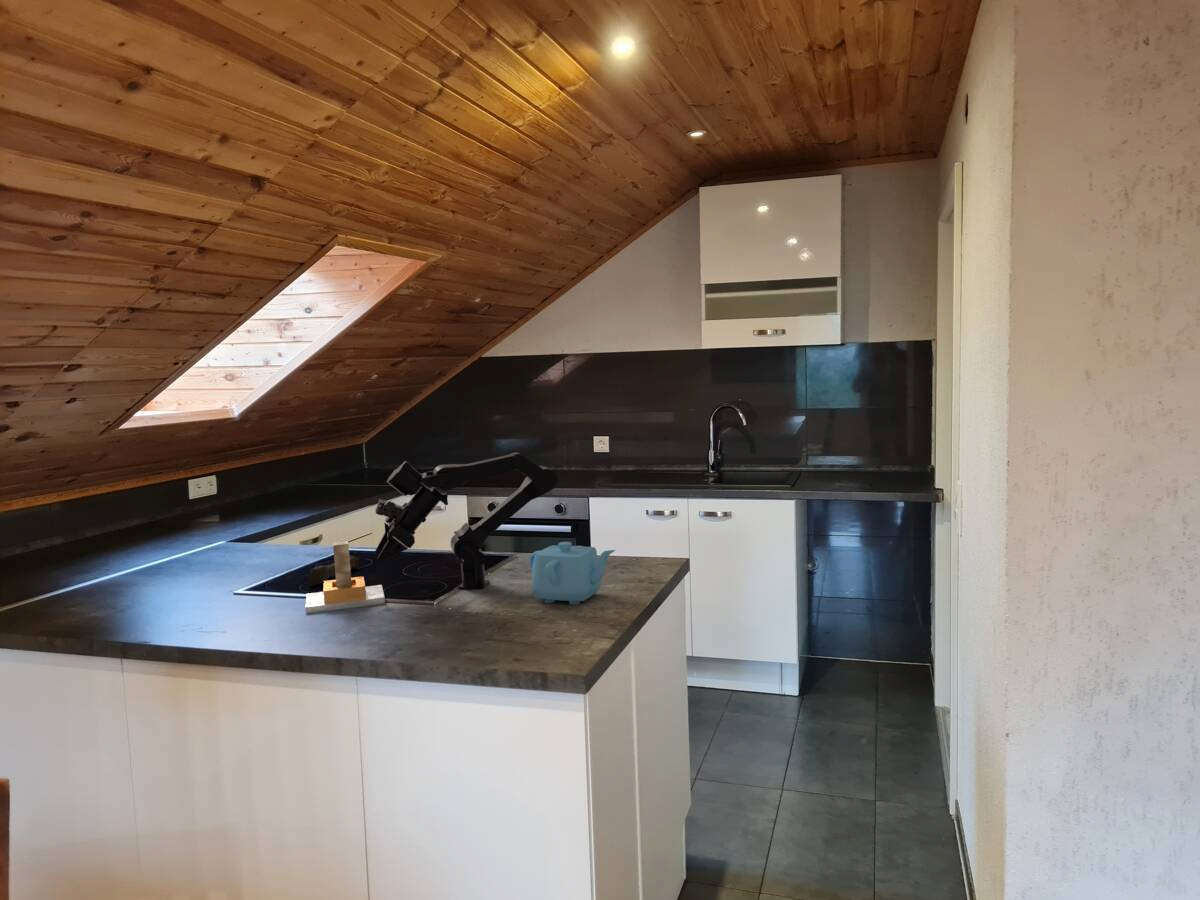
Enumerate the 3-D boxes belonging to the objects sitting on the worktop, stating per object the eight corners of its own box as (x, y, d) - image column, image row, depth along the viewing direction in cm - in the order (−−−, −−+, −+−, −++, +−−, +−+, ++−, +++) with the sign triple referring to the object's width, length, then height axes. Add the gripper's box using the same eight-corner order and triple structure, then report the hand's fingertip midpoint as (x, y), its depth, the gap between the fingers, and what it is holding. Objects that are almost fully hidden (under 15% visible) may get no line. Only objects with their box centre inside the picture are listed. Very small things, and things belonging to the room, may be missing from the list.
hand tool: (347, 568, 245) (346, 552, 245) (359, 569, 244) (358, 552, 243) (302, 587, 228) (300, 570, 227) (314, 588, 226) (313, 570, 226)
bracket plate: (382, 590, 220) (380, 573, 219) (385, 603, 209) (383, 585, 208) (307, 599, 215) (305, 581, 214) (306, 613, 203) (304, 594, 203)
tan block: (352, 592, 214) (347, 540, 212) (352, 596, 210) (348, 543, 209) (337, 594, 213) (332, 542, 211) (337, 598, 209) (333, 545, 208)
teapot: (541, 612, 196) (538, 554, 195) (525, 593, 212) (522, 539, 210) (618, 602, 202) (615, 545, 200) (596, 584, 217) (594, 531, 216)
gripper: (390, 482, 221) (350, 530, 219) (395, 492, 203) (351, 544, 202) (425, 509, 224) (385, 556, 222) (432, 521, 206) (389, 573, 205)
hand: (377, 557), depth 213 cm, fingers open, 9 cm apart
